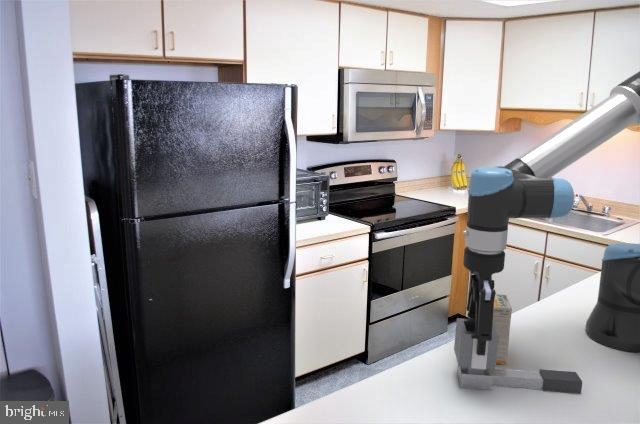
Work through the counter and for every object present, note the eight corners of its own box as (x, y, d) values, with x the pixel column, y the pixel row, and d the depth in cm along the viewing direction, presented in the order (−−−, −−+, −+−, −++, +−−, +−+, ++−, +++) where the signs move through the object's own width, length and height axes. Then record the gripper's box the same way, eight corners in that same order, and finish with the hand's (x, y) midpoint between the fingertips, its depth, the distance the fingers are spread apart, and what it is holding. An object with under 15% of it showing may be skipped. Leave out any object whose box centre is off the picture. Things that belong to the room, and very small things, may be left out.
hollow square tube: (488, 352, 107) (491, 320, 105) (495, 369, 100) (498, 336, 98) (454, 349, 107) (456, 318, 106) (458, 366, 101) (461, 333, 99)
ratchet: (572, 380, 105) (576, 347, 103) (583, 397, 99) (587, 362, 97) (456, 371, 108) (459, 339, 106) (460, 387, 102) (463, 353, 100)
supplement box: (507, 365, 111) (513, 308, 108) (484, 363, 112) (489, 306, 109) (502, 347, 118) (507, 294, 116) (480, 345, 119) (485, 292, 117)
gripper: (458, 234, 108) (450, 334, 114) (472, 264, 89) (462, 383, 94) (494, 235, 108) (485, 336, 113) (517, 266, 88) (505, 386, 93)
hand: (475, 357), depth 103 cm, fingers closed on hollow square tube, 7 cm apart
